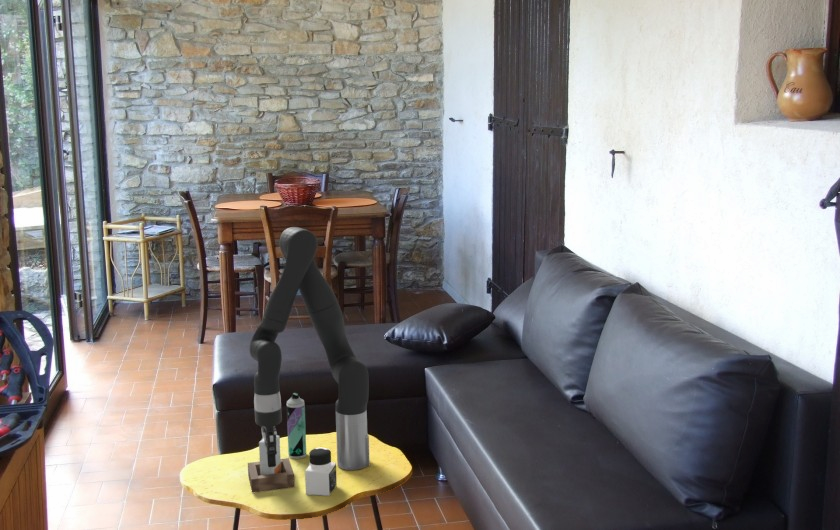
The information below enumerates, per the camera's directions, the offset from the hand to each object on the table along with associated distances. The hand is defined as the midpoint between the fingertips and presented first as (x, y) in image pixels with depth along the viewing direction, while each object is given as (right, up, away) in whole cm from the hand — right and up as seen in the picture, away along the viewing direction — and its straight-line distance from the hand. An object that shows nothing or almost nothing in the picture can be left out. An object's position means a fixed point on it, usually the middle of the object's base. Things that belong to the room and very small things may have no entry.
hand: (270, 461), depth 256 cm
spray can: (+5, -3, +20) cm, 21 cm away
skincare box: (0, -5, +1) cm, 5 cm away
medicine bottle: (+15, -7, -5) cm, 18 cm away
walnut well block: (0, -6, +1) cm, 6 cm away
